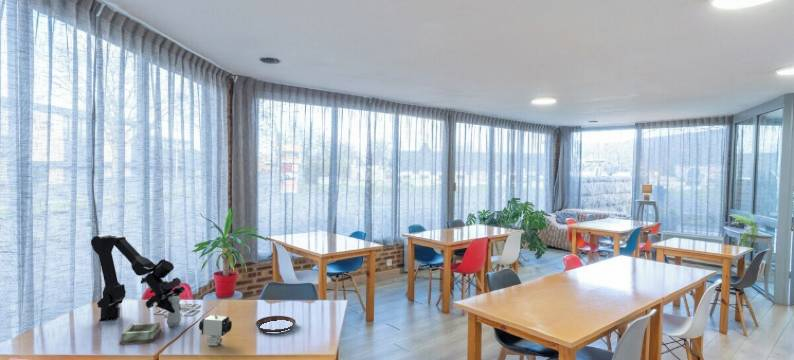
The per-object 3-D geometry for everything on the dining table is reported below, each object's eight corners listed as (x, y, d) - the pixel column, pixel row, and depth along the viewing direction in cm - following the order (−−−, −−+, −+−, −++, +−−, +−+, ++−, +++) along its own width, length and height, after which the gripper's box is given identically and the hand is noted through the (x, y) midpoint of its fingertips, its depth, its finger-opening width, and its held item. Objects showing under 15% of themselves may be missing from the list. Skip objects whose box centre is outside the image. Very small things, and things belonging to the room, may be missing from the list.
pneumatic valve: (225, 347, 163) (227, 318, 163) (197, 345, 163) (199, 316, 163) (232, 342, 168) (233, 313, 168) (204, 340, 169) (206, 311, 169)
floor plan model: (199, 320, 193) (199, 316, 193) (148, 317, 194) (148, 313, 194) (218, 308, 211) (218, 304, 211) (172, 305, 213) (172, 301, 213)
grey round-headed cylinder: (170, 322, 186) (171, 294, 186) (183, 323, 187) (184, 295, 187) (163, 327, 180) (165, 298, 180) (177, 327, 181) (178, 298, 181)
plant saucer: (302, 329, 187) (303, 322, 187) (267, 339, 174) (268, 332, 174) (282, 319, 199) (282, 313, 199) (248, 327, 186) (248, 321, 186)
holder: (119, 344, 161) (119, 334, 161) (129, 333, 173) (129, 323, 173) (153, 341, 165) (153, 332, 165) (160, 331, 176) (161, 322, 177)
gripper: (153, 277, 175) (174, 306, 173) (182, 269, 193) (202, 294, 192) (136, 294, 176) (157, 322, 174) (167, 283, 195) (186, 309, 193)
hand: (177, 311), depth 183 cm, fingers closed on grey round-headed cylinder, 3 cm apart
